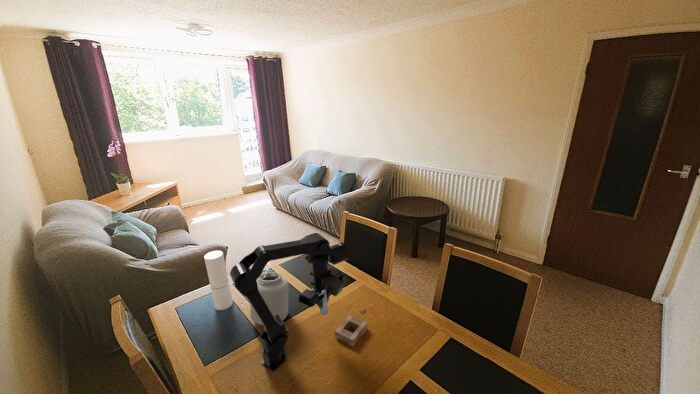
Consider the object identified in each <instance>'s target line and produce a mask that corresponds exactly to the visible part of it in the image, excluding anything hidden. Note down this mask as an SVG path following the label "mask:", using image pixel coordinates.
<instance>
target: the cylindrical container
mask: <svg viewBox="0 0 700 394" xmlns="http://www.w3.org/2000/svg"><path fill="white" fill-rule="evenodd" d="M203 258H204V259H203V260H204V262H205V267H206V273H207V277H208V281H209V286H210V291H211V295H212V298H213V299H212V300H213V303H214V308H215V310H217V311H224V310H227V309H228V308H230V307H231V306H232V305H233V298H232V297H233V296H232V292H231V287H230V283H229V277H228V271H227V267H226V261H225V257H224V252H223V251H222V250H212V251H209V252H207V253H206V254H204V256H203Z"/></svg>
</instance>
